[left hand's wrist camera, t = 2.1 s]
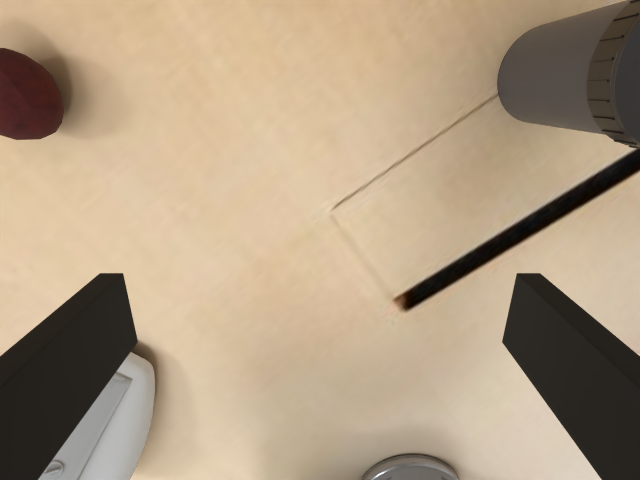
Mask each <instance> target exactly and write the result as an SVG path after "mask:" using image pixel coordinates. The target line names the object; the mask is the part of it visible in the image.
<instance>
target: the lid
mask: <svg viewBox="0 0 640 480" xmlns="http://www.w3.org/2000/svg"><path fill="white" fill-rule="evenodd" d="M586 92H587V102H588V105H589V110H590V112H591V115H592V118H593V119H594V121H595V122H596V124H597V126H598V127H599V128H600V129H601V130H602V132H604V133H605V134H606V135H607V136H609V137H610V138H612V139H613V140H614V142H619V143H622V144H625V145H629V147H632V148H637V149H640V0H631V1H630V3H628V4H627V5H626V6H625V7H624V8H623V9H622V10H621V11H620V12H619V13H618V14H617V16H616V17H615V18H613V21H612V22H611V23H610V24H609V26H608V27H607V29H606V30H605V32H604V33H603V35H602V37H601V38H600V40H599V42H598V44H597V46H596V48H595V51H594V53H593V56H592V59H591V61H590V66H589V70H588V76H587V88H586Z"/></svg>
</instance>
